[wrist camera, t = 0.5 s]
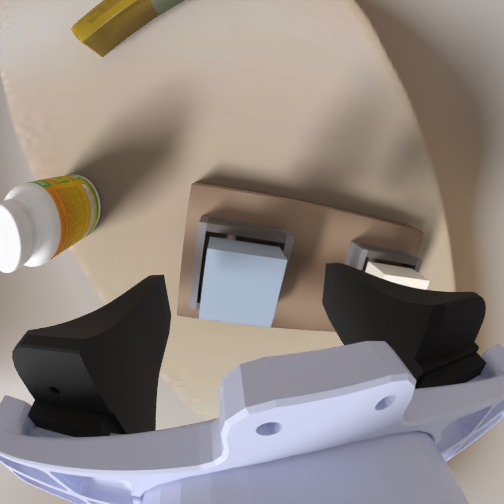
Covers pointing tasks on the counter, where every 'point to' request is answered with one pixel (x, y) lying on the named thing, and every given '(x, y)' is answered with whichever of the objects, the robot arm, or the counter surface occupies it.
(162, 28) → the counter surface
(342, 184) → the counter surface
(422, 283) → the cream key
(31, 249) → the supplement bottle
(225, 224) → the key board
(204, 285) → the blue key
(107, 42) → the medication box
